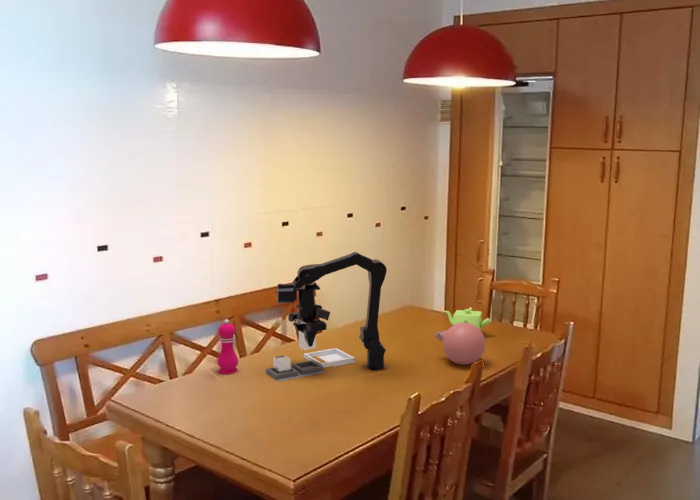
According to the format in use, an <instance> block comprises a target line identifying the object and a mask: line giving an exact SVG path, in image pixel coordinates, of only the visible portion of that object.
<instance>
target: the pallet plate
mask: <svg viewBox="0 0 700 500" xmlns="http://www.w3.org/2000/svg"><path fill="white" fill-rule="evenodd" d="M264 372H265V374H267V375H268V376H270V377H272V378H273V379H274V380H275V381H278V382H283V381H288V380H294V379H298V378H304V377H309V376H314V375H315V376H316V375H320V374H325V373H326V372H325V371H324V368H323V366H322V365H320V364H318V363H316V362H315V361H313V360H311V361H308V360H306V361H302V362H301V361H300V362H296V363H295V362H294V363H291V372H286V373H281V374H277V373H275V372H274V368H273V367H268V368H266V371H265V370H264Z"/></svg>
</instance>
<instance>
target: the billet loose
mask: <svg viewBox="0 0 700 500" xmlns="http://www.w3.org/2000/svg"><path fill="white" fill-rule="evenodd" d="M298 347H299V348H300V349H301V350H304V351H307V350H313V349H317V336H315V339H314V342H313V345H312V346H311V347H309V345H308V342H307V339H306V336H305V333H304V330H299V334H298Z"/></svg>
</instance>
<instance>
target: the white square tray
mask: <svg viewBox="0 0 700 500" xmlns="http://www.w3.org/2000/svg"><path fill="white" fill-rule="evenodd" d="M314 357H317V358H319V359H320V360H322V361H324V362H321V361H319V360H318V359H316V358H314ZM303 359H305V360H306V361H311V360H313V361H315V362H316V363H318V364H320V365H322V366H323V369H324V368H330V367H340V366H345V365H351V364H355V363H356V358H355V357H354V356H352V355H350V354H349V353H346V352H345V351H343V350H341V349H339V348H337V347H336V348H330V349H329V348H328V349H324V350H323V349H322V350H319V351H312V352H306V353H303Z"/></svg>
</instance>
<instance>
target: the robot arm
mask: <svg viewBox="0 0 700 500" xmlns="http://www.w3.org/2000/svg"><path fill="white" fill-rule="evenodd" d="M356 265H357V266H358V267H359V268H362V269H363V270H366V271H367V278H368V283H369V286H368V287H369V288H368V298H367V309H366V319H365V320H366V321H365V324H364V325H363V326H360V327H359V329H360V333H359V336H358V337H359V339H360V341H361V343H362V345H363V347H364V348H365V350H367V352H366V353H367V354H366V358H367V359H366V365H364V366H363V368H366V369H368V370H369V371H373V372H375V371H379V370H380V371H381V370H384V369H388V367H387V366H385V363H384V361H385V354H386V351H387V349H386V348H385V347H384V345H383V343H382V342H381V341H380V332H379V327H378V323H379V313H380V304H381V303H380V301H381V291H382V286H383V284H384V281H385V280H386V279H385V278H386V276H387V275H386V274H387V271H388V269H387V266H386V265H385V264H384V263H383V262H382V261H381V260H380V259H371V258H369V257H367V256H365V255H362V254H361V253H359V252H358V251H353V252H351V253H350V254H346V255H344V256H340V257H337V258H334V259H332V260H328V261H325V262H323V263H316V264H315V263H313V264H305V265H302V266H300V267H299V268H298V270H297V273H296V274H297V275H296V277H295V278H294V279H293V281H292V282H291V283H278V284H277V291H276V298H277V304H294V303H295V302H296V300H297V299H298V304H296V308H297V309H298V311H294V312H290V313H289V314H288V315H287V316H288V321H289V322H291V323H292V325H293V326H294V328H295V330H296V332H297V334H298V335H299V330H304V333H305V336H306V339H307V342H308V345H309V347H311V346H312V345H313V342H314V339H315V336H316V335H317V333H318V332H321V331H326V330H327V329H328V328H327V327H328V326H327V323H326V322H325V321H329V318H330V315H331V311H330V310H327V309H324V308H323V307H322V305H321V304H317V303H316V298H315V296H316V293H315V292H316V291H319V290H321V286H320V285H319V284H317V281H319V280H320V279H321V278H322V277H325V276H326V275H329V274H332V273H335V272H339V271H341V270H344V269H347V268H351V267H353V266H356ZM321 319H323V320H321ZM324 320H325V321H324ZM316 337H317V336H316Z"/></svg>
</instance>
